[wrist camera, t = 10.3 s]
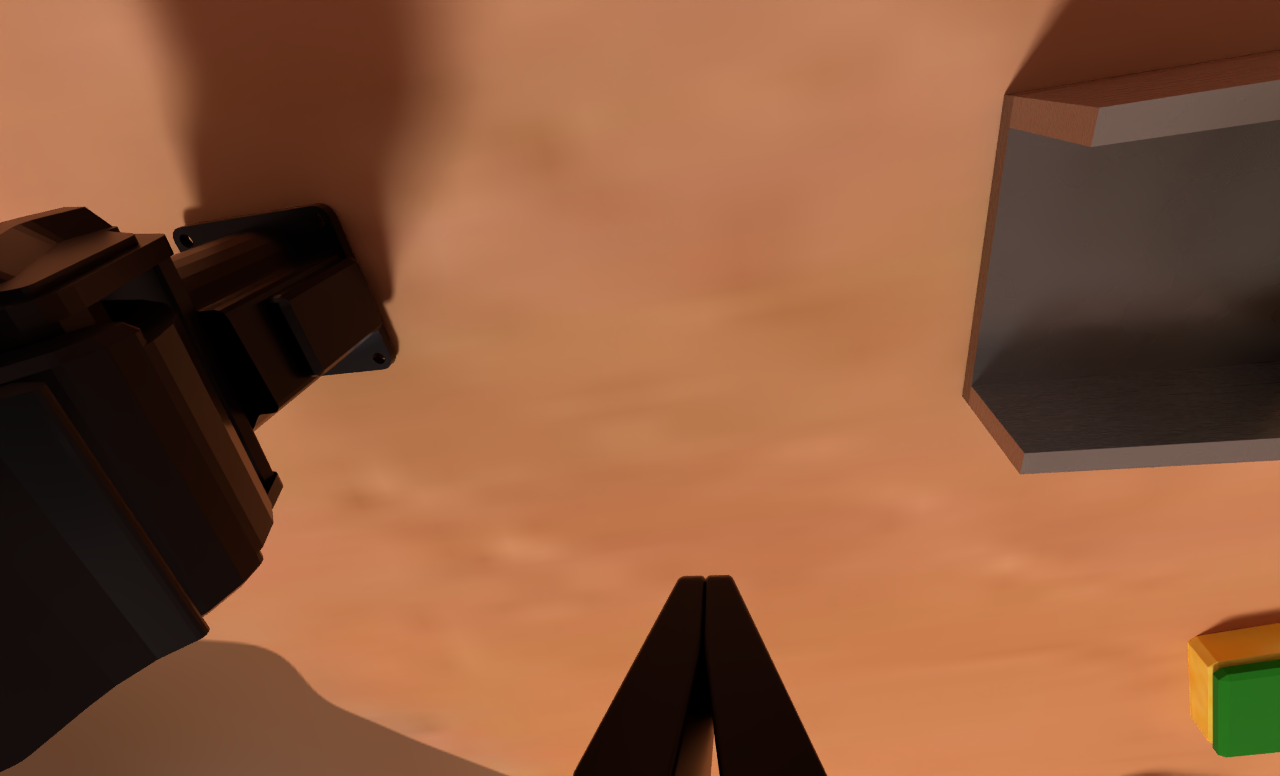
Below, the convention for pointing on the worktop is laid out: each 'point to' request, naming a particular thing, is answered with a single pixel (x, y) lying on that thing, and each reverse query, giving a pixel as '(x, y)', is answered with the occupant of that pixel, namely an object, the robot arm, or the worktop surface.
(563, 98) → the worktop surface
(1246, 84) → the metal bay
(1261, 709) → the dish sponge
